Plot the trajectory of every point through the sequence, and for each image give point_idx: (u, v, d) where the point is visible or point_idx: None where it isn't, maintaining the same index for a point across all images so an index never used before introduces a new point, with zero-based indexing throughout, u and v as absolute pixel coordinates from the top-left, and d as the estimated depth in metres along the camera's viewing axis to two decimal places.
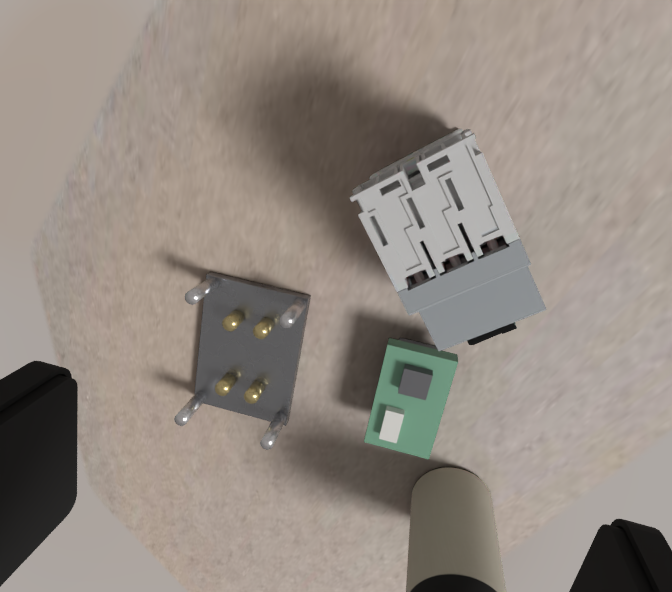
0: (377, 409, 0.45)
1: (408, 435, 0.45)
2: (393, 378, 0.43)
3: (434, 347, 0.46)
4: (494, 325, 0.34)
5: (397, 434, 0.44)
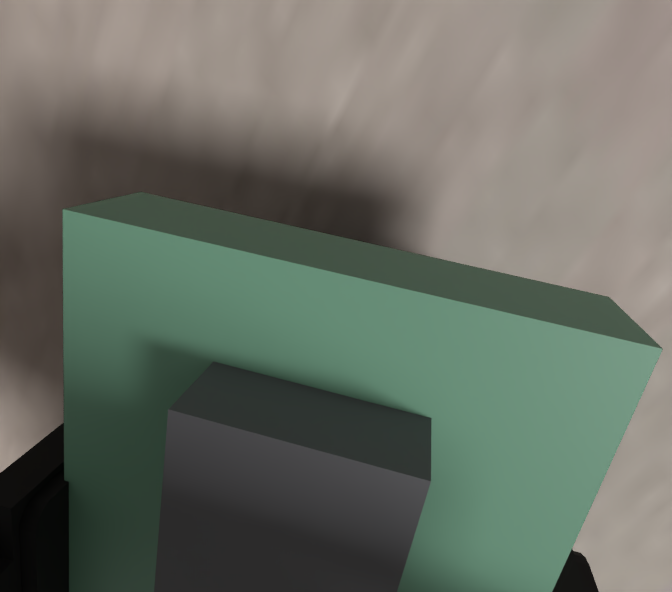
0: None
1: None
2: (151, 468, 0.06)
3: None
4: None
5: None
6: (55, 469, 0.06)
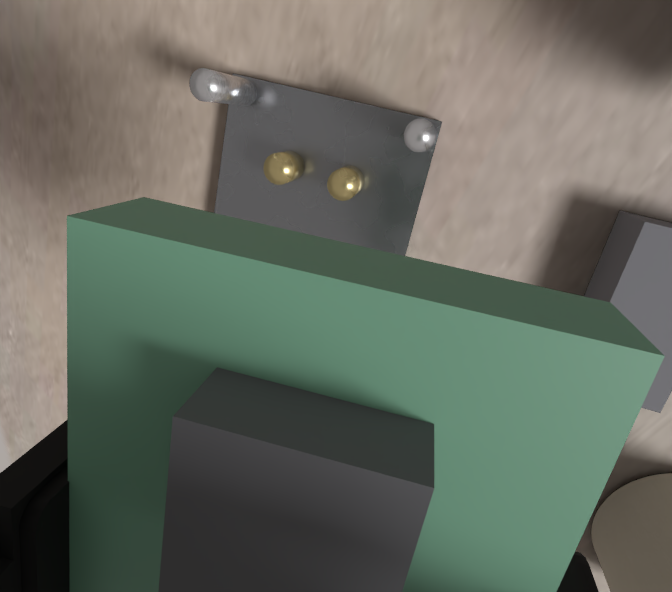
0: None
1: None
2: (155, 473, 0.06)
3: None
4: None
5: None
6: (55, 469, 0.06)
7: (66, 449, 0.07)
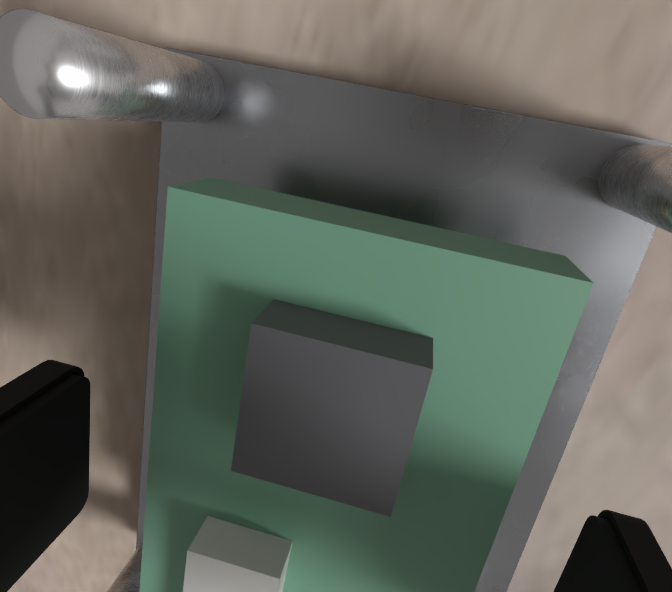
0: (165, 530, 0.09)
1: None
2: (222, 384, 0.08)
3: None
4: None
5: None
6: None
7: None
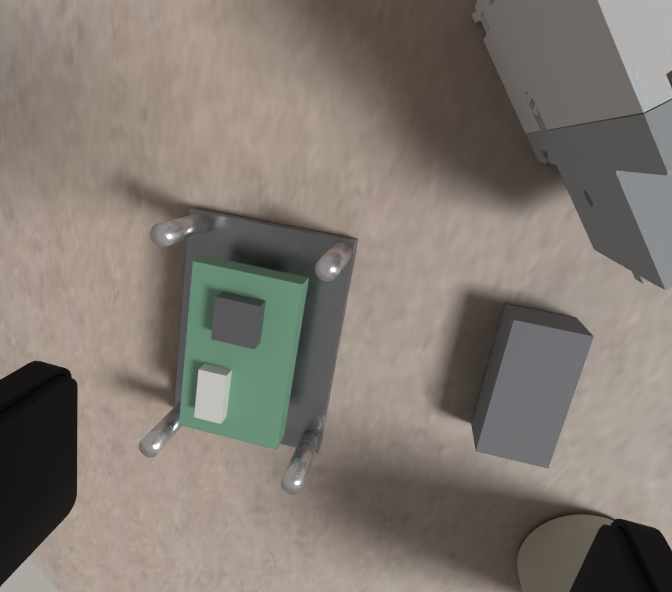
0: (191, 370, 0.28)
1: (242, 411, 0.29)
2: (208, 317, 0.27)
3: (565, 317, 0.28)
4: None
5: (220, 409, 0.28)
6: None
7: None
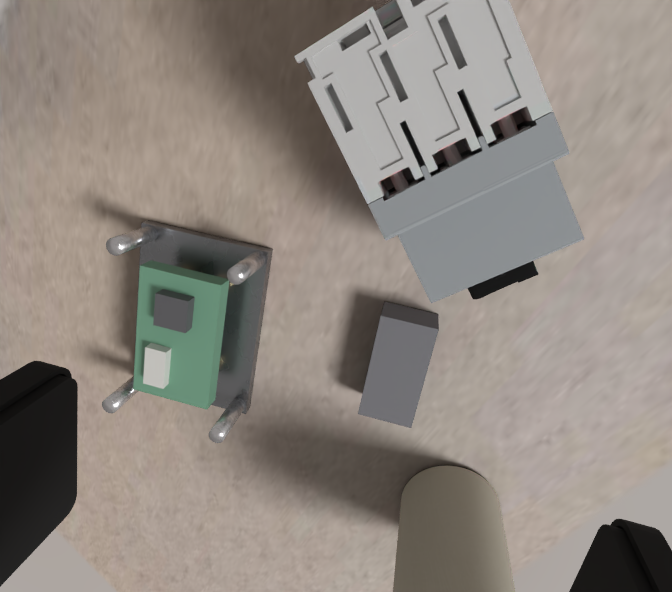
0: (141, 347, 0.37)
1: (180, 379, 0.37)
2: (153, 308, 0.36)
3: (428, 313, 0.37)
4: (509, 264, 0.24)
5: (162, 377, 0.37)
6: None
7: None
